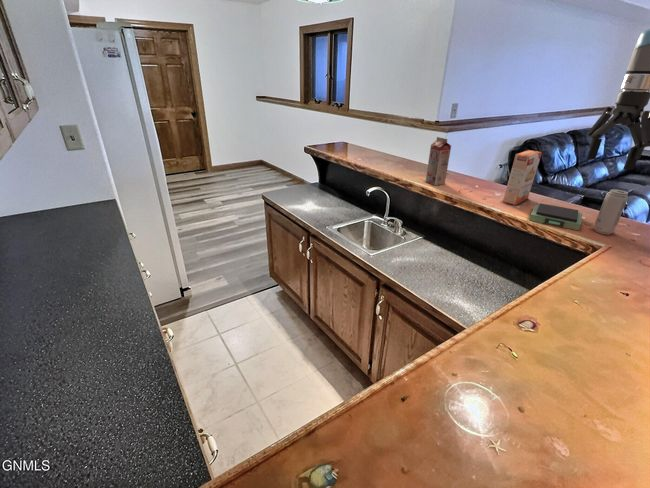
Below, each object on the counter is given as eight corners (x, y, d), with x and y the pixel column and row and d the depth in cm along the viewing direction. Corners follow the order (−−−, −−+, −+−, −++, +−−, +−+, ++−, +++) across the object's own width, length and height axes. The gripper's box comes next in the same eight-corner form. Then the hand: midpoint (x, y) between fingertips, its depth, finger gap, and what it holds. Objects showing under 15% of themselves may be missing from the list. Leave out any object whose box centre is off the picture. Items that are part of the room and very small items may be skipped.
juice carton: (434, 185, 172) (442, 139, 162) (425, 181, 178) (432, 137, 168) (444, 183, 175) (452, 138, 165) (435, 180, 180) (442, 136, 170)
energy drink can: (593, 226, 128) (609, 187, 122) (613, 231, 125) (630, 191, 118) (591, 231, 124) (607, 191, 118) (612, 236, 121) (629, 195, 114)
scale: (580, 218, 135) (582, 212, 134) (578, 231, 124) (581, 225, 123) (533, 209, 144) (535, 204, 142) (528, 221, 132) (530, 215, 131)
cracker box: (516, 206, 147) (530, 156, 138) (502, 202, 151) (514, 153, 142) (529, 199, 156) (542, 151, 146) (515, 195, 160) (527, 149, 150)
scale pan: (577, 212, 134) (578, 210, 134) (576, 221, 125) (577, 219, 125) (539, 204, 141) (540, 203, 140) (536, 213, 132) (536, 211, 132)
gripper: (589, 88, 111) (567, 155, 121) (668, 93, 89) (634, 174, 99) (609, 88, 112) (586, 155, 122) (693, 93, 90) (657, 173, 100)
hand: (608, 164), depth 110 cm, fingers open, 13 cm apart
